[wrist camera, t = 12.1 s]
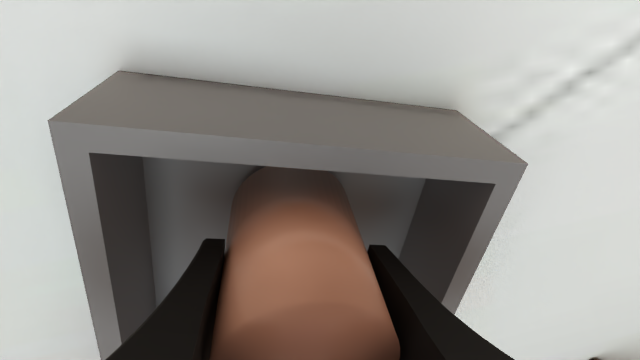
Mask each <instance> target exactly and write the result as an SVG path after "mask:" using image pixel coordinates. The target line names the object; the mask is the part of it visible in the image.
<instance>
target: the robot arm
mask: <svg viewBox="0 0 640 360" xmlns="http://www.w3.org/2000/svg"><path fill="white" fill-rule="evenodd" d="M367 253H368V256H369V259H370V262H371V264H372V267H373V270H374V273H375V276H376V278H377V281H378V284H379V287H380V290H381V292H382V295H383V298H384V301H385V304H386V306H387V309H388V312H389V315H390V318H391V320H392V323H393V326H394V329H395V332H396V334H397V337H398V340H399V344H400V358H399V360H514V359H513V358H511V357H510V356H508V355H507V354H505V353H504V352H502V351H501V350H499V349H498V348H496V347H495V346H494V345H492V344H491V343H489V342H488V341H487V340H485V339H484V338H482V337H481V336H480V335H478V334H477V333H476V332H475V331H473V330H472V329H471V328H469V327H468V326H467V325H466V324H465V323H463V322H462V321H461V320H460V319H458V318H457V317H456V316H455V315H454V314H453V313H451V312H450V311H449V310H448V309H447V308H446V307H445V306H444V305H443V304H441V303H440V302H439V301H438V300H437V299H436V298H435V297H434V296H433V295H432V294H431V293H430V292H429V291H428V290H427V289H426V288H425V287H424V286H423V285H422V284H421V283H420V282H419V281H418V280H417V279H416V278H415V277H414V276H413V275H412V274H411V272H410V271H409V270H408V269H407V268H406V267H405V266H404V265H403V264H402V263H401V262H400V260H399V259H398V258H397V257H396V256H395V255H394V254H393V253H392V252H391V251H390V250H389V248H388V247H387V246H386V245H369V248H368V251H367ZM224 255H225V239H211V238H206V239H205V240H203V242H202V244H201V246H200V248H199V250H198V251H197V253H196V255H195V256H194V258H193V260H192V261H191V263H190V264H189V266H188V268H187V269H186V270H185V272H184V273H183V275H182V276H181V277H180V279H179V280H178V282H177V283H176V284H175V286H174V287H173V288H172V290H171V291H170V292H169V293H168V295H167V296H166V297H165V298H164V300H163V301H162V302H161V303H160V305H159V306H158V307H157V308H156V309H155V310H154V312H153V313H152V314H151V315H150V316H149V317H148V318H147V319H146V320H145V321H144V323H143V324H142V325H141V326H140V327H139V328H138V329H137V330H136V331H135V332H134V333H133V334H132V335H131V336H130V337H129V338H128V339H127V340H126V341H125V342H124V343H123V344H122V345H121V346H120V347H119V348H117V349H116V350H115V351H114V352H113V353H112V354H111V355H110V356H109V357H108V358H107V359H105V360H209V359H210V352H211V345H212V338H213V331H214V324H215V317H216V310H217V303H218V296H219V289H220V282H221V276H222V269H223V262H224Z"/></svg>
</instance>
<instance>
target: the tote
mask: <svg viewBox="0 0 640 360" xmlns="http://www.w3.org/2000/svg"><path fill="white" fill-rule="evenodd" d="M48 123H49V128H50V132H51V137H52V141H53V146H54V150H55V155H56V159H57V164H58V168H59V173H60V177H61V182H62V186H63V191H64V195H65V200H66V204H67V209H68V213H69V218H70V222H71V227H72V231H73V236H74V240H75V245H76V249H77V254H78V258H79V263H80V267H81V272H82V276H83V281H84V285H85V290H86V294H87V299H88V303H89V308H90V312H91V317H92V321H93V326H94V330H95V335H96V339H97V344H98V348H99V353H100V357H101V360H105V359H107V358H108V357H109V356H110V355H111V354H112V353H113V352H114V351H115V350H116V349H117V348H119V347H120V346H121V345H122V344H123V343H124V342H125V341H126V340H127V339H128V338H129V337H130V336H131V335H132V334H133V333H134V332H135V331H136V330H137V329H138V328H139V327H140V326H141V325H142V324H143V323H144V321H145V320H146V319H147V318H148V317H149V316H150V315H151V314H152V313H153V312H154V310H155V309H156V308H157V307H158V306H159V305H160V303H161V302H162V301H163V300H164V298H165V297H166V296H167V295H168V293H169V292H170V291H171V290H172V288H173V287H174V286H175V284H176V283H177V282H178V280H179V279H180V277H181V276H182V275H183V273H184V272H185V270H186V269H187V268H188V266H189V264H190V263H191V261H192V260H193V258H194V256H195V255H196V253H197V251H198V250H199V248H200V246H201V244H202V242H203V240H205V239H206V238H211V239H225V247H226V240H227V233H228V226H229V219H230V212H231V206H232V201H233V198H234V196H235V193H236V192H237V190H238V188H239V187H240V186H241V184H242V183H243V182H244V181H245V180H246V179H247V178H248V177H249V176H250V175H252V174H253V173H255V172H256V171H258V170H260V169H262V168H264V167H266V166H272V167H285V168H298V169H311V170H324V171H328V172H329V173H331V174H332V175H333V176H334V177H335V178H337V180H338V181H339V182H340V183H341V185H342V186H343V188H344V190H345V192H346V195H347V197H348V200H349V203H350V206H351V209H352V211H353V214H354V217H355V220H356V222H357V225H358V228H359V231H360V234H361V236H362V239H363V242H364V245H365V248H366V250H367V251H368V248H369V245H386V246H387V247H388V248H389V250H390V251H391V252H392V253H393V254H394V255H395V256H396V257H397V258H398V259H399V260H400V262H401V263H402V264H403V265H404V266H405V267H406V268H407V269H408V270H409V271H410V272H411V274H412V275H413V276H414V277H415V278H416V279H417V280H418V281H419V282H420V283H421V284H422V285H423V286H424V287H425V288H426V289H427V290H428V291H429V292H430V293H431V294H432V295H433V296H434V297H435V298H436V299H437V300H438V301H439V302H440V303H441V304H443V305H444V306H445V307H446V308H447V309H448V310H449V311H450V312H451V313H453V314H455V312H456V310H457V308H458V306H459V304H460V302H461V300H462V298H463V296H464V293H465V291H466V289H467V287H468V285H469V283H470V281H471V279H472V277H473V275H474V273H475V271H476V269H477V267H478V265H479V263H480V261H481V259H482V257H483V255H484V253H485V251H486V249H487V247H488V245H489V243H490V241H491V238H492V236H493V234H494V232H495V230H496V228H497V226H498V224H499V222H500V220H501V218H502V216H503V214H504V212H505V210H506V208H507V206H508V204H509V202H510V200H511V198H512V196H513V194H514V192H515V190H516V188H517V185H518V183H519V181H520V179H521V177H522V175H523V173H524V171H525V169H526V167H527V165H528V163H526V162H525V161H524V160H522V159H521V158H520V157H518V156H517V155H516V154H514V153H513V152H512V151H510V150H509V149H508V148H506V147H505V146H504V145H502V144H501V143H500V142H498V141H497V140H495V139H494V138H493V137H491V136H490V135H489V134H487V133H486V132H485V131H483V130H482V129H481V128H479V127H478V126H477V125H475V124H474V123H473V122H471V121H470V120H469V119H467V118H466V117H465V116H463V115H462V114H461V113H459V112H458V111H456V110H447V109H439V108H430V107H422V106H413V105H405V104H396V103H388V102H379V101H371V100H362V99H354V98H345V97H337V96H328V95H320V94H311V93H303V92H294V91H285V90H277V89H268V88H260V87H251V86H243V85H234V84H226V83H217V82H209V81H200V80H192V79H183V78H175V77H166V76H158V75H149V74H141V73H132V72H123V71H118V72H116V73H115V74H113V75H112V76H110V77H109V78H108V79H106V80H105V81H103V82H102V83H101V84H99V85H98V86H96V87H95V88H93V89H92V90H91V91H89V92H88V93H86V94H85V95H83V96H82V97H81V98H79V99H78V100H76V101H75V102H73V103H72V104H71V105H69V106H68V107H66V108H65V109H64V110H62V111H61V112H59V113H58V114H56V115H55V116H54V117H52V118H51V119H49V120H48Z"/></svg>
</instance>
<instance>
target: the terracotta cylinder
mask: <svg viewBox="0 0 640 360" xmlns="http://www.w3.org/2000/svg"><path fill="white" fill-rule="evenodd" d="M399 358H400V344H399V340H398V337H397V334H396V332H395V329H394V326H393V323H392V320H391V318H390V315H389V312H388V309H387V306H386V304H385V301H384V298H383V295H382V292H381V290H380V287H379V284H378V281H377V278H376V276H375V273H374V270H373V267H372V264H371V262H370V259H369V256H368V253H367V250H366V248H365V245H364V242H363V239H362V236H361V234H360V231H359V228H358V225H357V222H356V220H355V217H354V214H353V211H352V209H351V206H350V203H349V200H348V197H347V195H346V192H345V190H344V188H343V186H342V185H341V183H340V182H339V181H338V180H337V178H335V177H334V176H333V175H332V174H331V173H329V172H328V171H324V170H311V169H298V168H285V167H272V166H266V167H264V168H262V169H260V170H258V171H256V172H255V173H253V174H252V175H250V176H249V177H248V178H247V179H246V180H245V181H244V182H243V183H242V184H241V186H240V187H239V188H238V190H237V192H236V193H235V196H234V198H233V201H232V206H231V212H230V219H229V226H228V233H227V240H226V247H225V255H224V262H223V269H222V276H221V282H220V289H219V296H218V303H217V310H216V317H215V324H214V331H213V338H212V345H211V352H210V359H209V360H399Z"/></svg>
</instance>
